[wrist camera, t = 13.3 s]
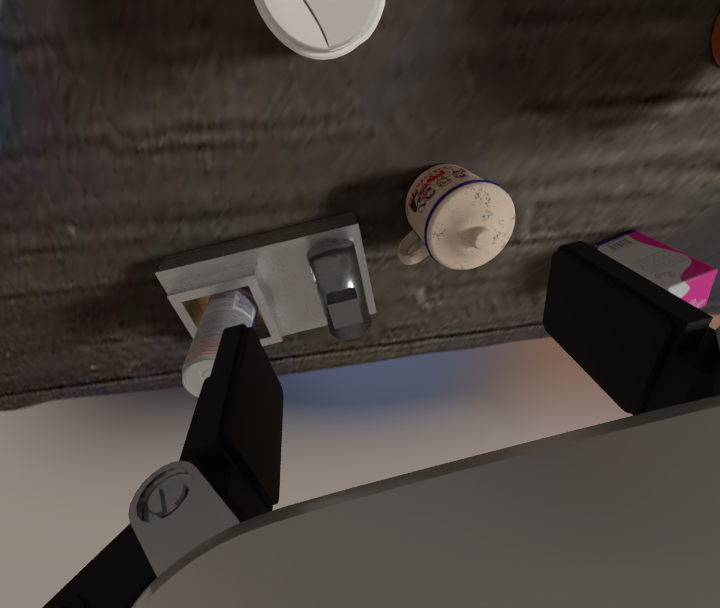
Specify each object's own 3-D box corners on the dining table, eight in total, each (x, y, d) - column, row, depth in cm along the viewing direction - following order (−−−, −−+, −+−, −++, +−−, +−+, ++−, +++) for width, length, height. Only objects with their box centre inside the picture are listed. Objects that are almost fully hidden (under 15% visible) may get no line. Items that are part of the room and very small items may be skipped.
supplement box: (592, 278, 51) (659, 324, 41) (594, 244, 47) (667, 286, 38) (631, 263, 50) (708, 307, 41) (635, 228, 47) (720, 266, 37)
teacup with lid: (454, 142, 37) (508, 165, 28) (489, 205, 42) (546, 244, 32) (367, 213, 40) (389, 257, 30) (409, 265, 45) (440, 317, 35)
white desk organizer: (211, 334, 46) (190, 398, 37) (166, 256, 39) (127, 310, 30) (370, 295, 46) (388, 349, 37) (353, 211, 40) (369, 251, 31)
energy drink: (223, 328, 41) (199, 409, 31) (199, 292, 38) (166, 369, 28) (266, 315, 41) (256, 392, 31) (246, 277, 38) (228, 350, 28)
